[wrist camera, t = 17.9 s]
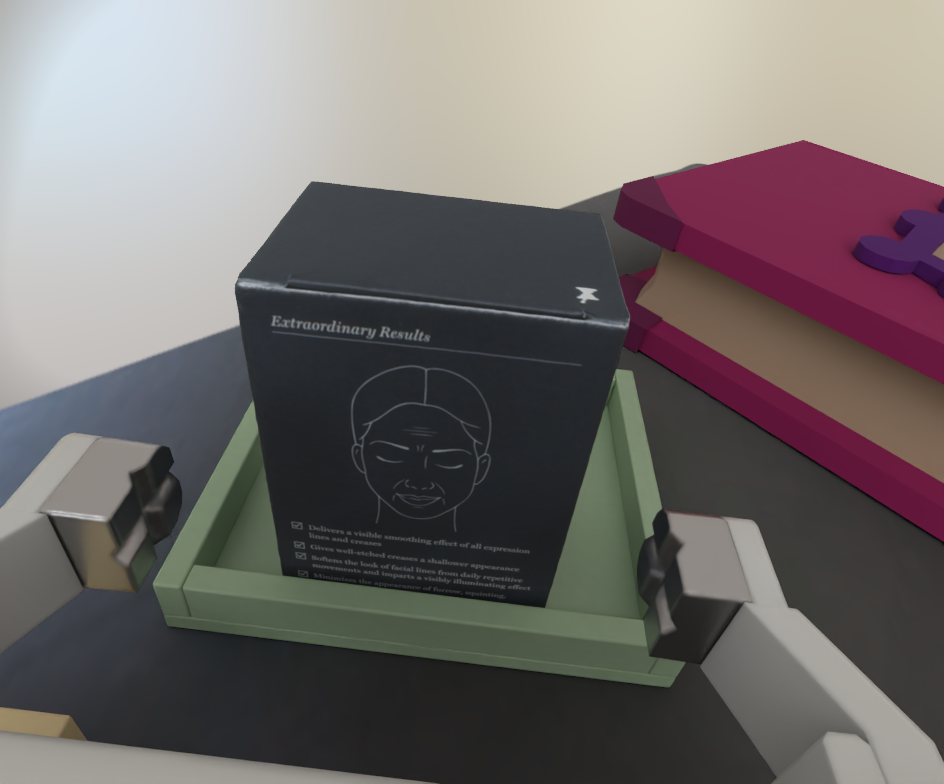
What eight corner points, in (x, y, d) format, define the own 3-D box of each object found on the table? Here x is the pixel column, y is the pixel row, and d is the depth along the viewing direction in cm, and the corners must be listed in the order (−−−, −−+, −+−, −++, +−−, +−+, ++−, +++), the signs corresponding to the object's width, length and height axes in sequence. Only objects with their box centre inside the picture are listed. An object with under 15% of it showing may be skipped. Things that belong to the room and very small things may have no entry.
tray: (166, 626, 18) (150, 584, 16) (295, 366, 28) (291, 327, 26) (670, 688, 18) (693, 651, 17) (620, 407, 28) (633, 370, 26)
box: (539, 484, 23) (608, 208, 16) (542, 626, 18) (640, 327, 12) (325, 458, 23) (307, 170, 16) (278, 595, 18) (225, 275, 12)
